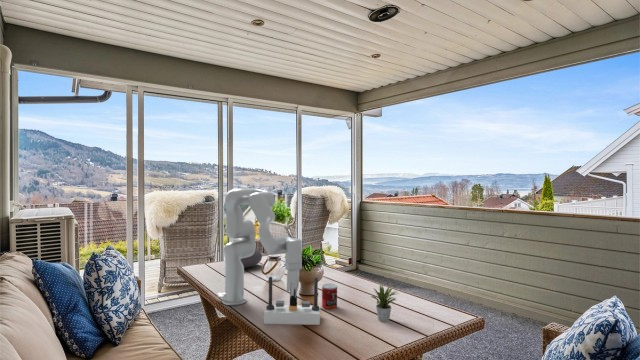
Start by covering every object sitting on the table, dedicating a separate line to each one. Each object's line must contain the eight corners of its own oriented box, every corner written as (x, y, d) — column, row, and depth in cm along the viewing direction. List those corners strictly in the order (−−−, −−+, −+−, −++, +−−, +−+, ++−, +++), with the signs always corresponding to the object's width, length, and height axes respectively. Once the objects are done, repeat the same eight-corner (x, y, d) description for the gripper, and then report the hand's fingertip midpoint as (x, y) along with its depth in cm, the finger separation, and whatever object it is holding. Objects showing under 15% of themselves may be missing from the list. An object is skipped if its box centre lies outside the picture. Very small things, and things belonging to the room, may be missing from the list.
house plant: (392, 329, 160) (392, 292, 159) (363, 322, 167) (363, 286, 167) (403, 318, 172) (403, 284, 172) (375, 312, 179) (376, 279, 179)
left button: (275, 306, 167) (275, 303, 167) (276, 303, 171) (276, 300, 171) (283, 306, 167) (283, 303, 167) (284, 304, 171) (284, 300, 171)
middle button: (288, 309, 167) (288, 306, 167) (289, 307, 171) (289, 303, 171) (296, 310, 167) (296, 306, 167) (297, 307, 171) (297, 303, 171)
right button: (301, 307, 167) (301, 303, 167) (302, 304, 171) (302, 301, 171) (309, 307, 167) (309, 303, 167) (310, 304, 171) (310, 301, 171)
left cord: (265, 310, 168) (266, 277, 167) (267, 307, 171) (267, 275, 171) (273, 310, 167) (273, 277, 167) (274, 307, 171) (275, 275, 171)
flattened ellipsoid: (259, 271, 253) (259, 250, 253) (223, 271, 252) (223, 249, 252) (264, 263, 278) (264, 243, 277) (231, 262, 277) (231, 243, 277)
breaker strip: (264, 323, 164) (264, 312, 164) (267, 315, 174) (267, 304, 174) (319, 324, 164) (319, 313, 164) (320, 316, 174) (320, 305, 174)
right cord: (311, 310, 167) (311, 278, 167) (311, 308, 171) (312, 276, 171) (319, 310, 167) (319, 278, 167) (319, 308, 171) (320, 276, 170)
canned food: (326, 311, 181) (326, 288, 180) (319, 305, 188) (319, 284, 187) (339, 308, 184) (340, 286, 184) (332, 303, 191) (332, 282, 191)
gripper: (287, 261, 176) (287, 299, 176) (283, 269, 161) (283, 311, 162) (302, 261, 176) (302, 299, 176) (300, 269, 161) (300, 311, 161)
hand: (293, 305), depth 169 cm, fingers closed
